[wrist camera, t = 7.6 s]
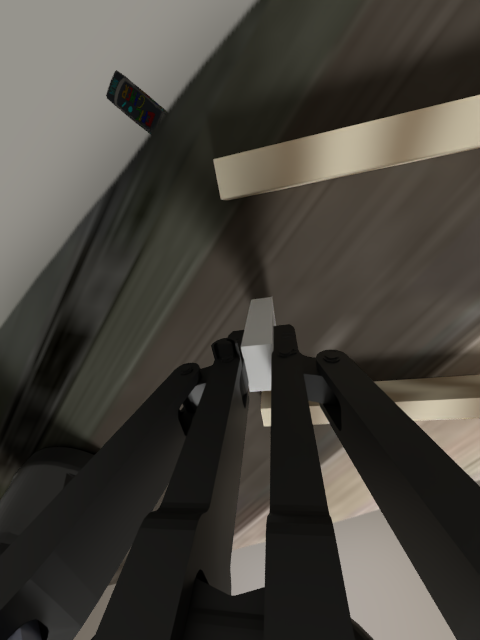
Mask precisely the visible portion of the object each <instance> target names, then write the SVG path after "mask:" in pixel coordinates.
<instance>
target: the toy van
mask: <svg viewBox="0 0 480 640" xmlns="http://www.w3.org/2000/svg"><path fill="white" fill-rule="evenodd" d="M106 96H107V99H108V100H109V101H111V102H112V103H113V104H114V105H115V106H116V107H117V108H119V109H120V110H121V111H122V112H123V113H124V114H126V115H127V116H128V117H129V118H130V119H132V120H133V121H134V122H135V123H136V124H138V125H139V126H140V127H142V128H143V129H144V130H145V131H147V132H148V133H149V134H150V133H151V131H152V130H153V129H154V128H155V126H156V125H157V124H158V122H159V121H160V119H161V118H162V117H163V115H164V114H165V113H166V110H165V109H164V108H163V107H161V106H160V105H159V104H158V103H157V102H156V101H154V100H153V99H152V98H151V97H150V96H149V95H147V94H146V93H145V92H144V91H143V90H141V89H140V88H139V87H138V86H136V85H135V84H134V83H133V82H131V81H130V80H129V79H128V78H127V77H126V76H124V75H123V74H122V73H120V72H119V71H117V70H116V71H115V72H114V75H113V77H112V79H111V82H110V85H109V87H108V91H107V94H106Z"/></svg>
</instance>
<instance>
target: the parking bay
mask: <svg viewBox="0 0 480 640" xmlns="http://www.w3.org/2000/svg"><path fill="white" fill-rule="evenodd" d="M477 148H480V95H477V96H472V97H468V98H464V99H460V100H456V101H452V102H448V103H444V104H439V105H435V106H431V107H427V108H423V109H419V110H415V111H411V112H406V113H402V114H398V115H394V116H390V117H386V118H382V119H378V120H374V121H369V122H365V123H361V124H357V125H353V126H349V127H345V128H341V129H336V130H332V131H328V132H324V133H320V134H316V135H312V136H308V137H303V138H299V139H295V140H291V141H287V142H283V143H279V144H275V145H271V146H266V147H262V148H258V149H254V150H250V151H246V152H242V153H238V154H233V155H229V156H225V157H221V158H217V159H213V161H214V166H215V172H216V177H217V182H218V187H219V193H220V198H221V200H227V201H228V200H233V199H238V198H242V197H247V196H252V195H257V194H262V193H266V192H271V191H276V190H281V189H286V188H290V187H295V186H300V185H305V184H309V183H314V182H319V181H324V180H329V179H333V178H338V177H343V176H348V175H353V174H357V173H362V172H367V171H372V170H376V169H381V168H386V167H391V166H396V165H400V164H405V163H410V162H415V161H420V160H424V159H429V158H434V157H439V156H444V155H448V154H453V153H458V152H463V151H467V150H472V149H477ZM375 383H376V384H377V385H378V386H379V387H380V388H381V389H382V390H383V391H384V392H385V393H386V394H387V395H388V396H389V397H390V398H391V399H392V400H393V401H394V402H395V403H396V404H397V405H398V406H399V407H400V408H401V409H402V410H403V411H404V412H405V413H406V414H407V415H408V416H409V417H410V418H411V419H412V420H413V421H419V420H446V419H473V418H480V375H467V376H452V377H436V378H421V379H405V380H390V381H375ZM308 402H309V407H310V412H311V418H312V423H313V424H330V423H329V421H328V420H327V418H326V416H325V415H324V413H323V411H322V409H321V408H320V405H319V403H317V402H312V401H308ZM261 413H262V418H263V424H264V426H271V391H262V393H261Z"/></svg>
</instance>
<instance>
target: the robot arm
mask: <svg viewBox="0 0 480 640" xmlns="http://www.w3.org/2000/svg"><path fill="white" fill-rule="evenodd" d="M211 347H212V351H213V355H214V358H215V361H214V363H213V365H212V366H209V367H206V368H202V369H200V367H199V365H198V364H196V363H186V364H183V365H181V366H179V367H178V368H177V369H175V370H174V371H173V372H172V373H171V375H170V376H169V377H168V378H167V379H166V380H165V381H164V382H163V383H162V384H161V385H160V386H159V387H158V388H157V389H156V390H155V392H154V393H153V394H152V395H151V396H150V397H149V398H148V399H147V400H146V401H145V402H144V403H143V404H142V405H141V406H140V408H139V409H138V410H137V411H136V412H135V413H134V414H133V415H132V416H131V417H130V418H129V419H128V420H127V421H126V422H125V423H124V425H123V426H122V427H121V428H120V429H119V430H118V431H117V432H116V433H115V434H114V435H113V436H112V437H111V438H110V439H109V440H108V442H107V443H106V444H105V445H104V446H103V447H102V448H101V449H100V450H99V451H98V452H97V453H96V454H95V455H93V454H90V453H87V452H84V451H81V450H77V449H73V448H67V447H49V448H44V449H41V450H39V451H37V452H35V453H34V454H33V455H32V456H31V457H30V458H29V459H28V460H27V461H26V462H25V463H24V464H23V465H22V466H21V467H20V468H19V470H18V471H17V472H16V473H15V475H14V477H13V479H12V481H11V484H10V486H9V488H8V489H7V491H6V492H5V494H4V495H3V497H2V499H1V500H0V640H73V639H74V637H75V636H76V635H77V633H78V632H79V630H80V629H81V628H82V626H83V625H84V623H85V621H86V620H87V618H88V617H89V615H90V613H91V612H92V610H93V609H94V607H95V606H96V604H97V603H98V601H99V599H100V598H101V596H102V594H103V592H104V591H105V589H106V588H107V586H108V584H109V583H110V581H111V579H112V578H113V576H114V574H115V572H116V571H117V569H118V567H119V566H120V564H121V562H122V561H123V559H124V557H125V556H126V554H127V552H128V551H129V549H130V547H131V546H132V547H131V549H130V552H129V554H128V557H127V559H126V562H125V564H124V566H123V569H122V571H121V574H120V576H119V579H118V581H117V583H116V586H115V588H114V591H113V593H112V596H111V598H110V600H109V603H108V605H107V608H106V610H105V613H104V615H103V618H102V620H101V622H100V625H99V627H98V630H97V632H96V635H95V636H94V637H93V638H92V639H91V640H373V638H372V637H371V636H370V635H369V634H368V633H367V632H366V631H365V630H364V629H363V628H362V627H361V626H360V625H359V624H358V623H356V622H355V621H354V620H353V619H351V617H350V612H349V607H348V601H347V597H346V591H345V586H344V581H343V575H342V570H341V565H340V559H339V554H338V549H337V543H336V538H335V533H334V528H333V523H332V519H331V517H330V515H329V511H328V506H327V500H326V495H325V489H324V484H323V478H322V473H321V467H320V462H319V456H318V451H317V445H316V440H315V434H314V429H313V423H312V418H311V412H310V407H309V402H308V401H312V402H317V403H319V405H320V408H321V409H322V411H323V413H324V415H325V416H326V418H327V420H328V421H329V423H330V425H331V426H332V428H333V430H334V432H335V433H336V435H337V437H338V438H339V440H340V442H341V444H342V445H343V447H344V449H345V450H346V452H347V454H348V455H349V457H350V459H351V461H352V462H353V464H354V466H355V467H356V469H357V471H358V472H359V474H360V476H361V478H362V479H363V481H364V483H365V484H366V486H367V488H368V489H369V491H370V493H371V495H372V496H373V498H374V500H375V501H376V503H377V505H378V506H379V508H380V510H381V512H382V513H383V515H384V516H385V518H386V520H387V522H388V523H389V525H390V527H391V529H392V530H393V532H394V534H395V535H396V537H397V539H398V540H399V542H400V544H401V545H402V547H403V549H404V551H405V552H406V554H407V556H408V557H409V559H410V561H411V562H412V564H413V566H414V568H415V569H416V571H417V573H418V574H419V576H420V578H421V579H422V581H423V583H424V584H425V586H426V588H427V590H428V592H429V593H430V595H431V597H432V598H433V600H434V602H435V603H436V605H437V606H438V609H439V610H440V612H441V613H442V615H443V617H444V619H445V620H446V622H447V624H448V625H449V627H450V629H451V630H452V632H453V634H454V636H455V637H456V639H457V640H480V487H479V485H478V484H477V483H476V482H475V481H474V480H473V479H472V478H471V477H470V476H469V475H468V474H467V473H466V472H465V471H464V470H462V469H461V468H460V467H459V466H458V465H457V464H456V463H455V462H454V461H453V460H452V459H451V458H450V457H449V456H448V455H447V454H446V453H445V452H444V451H443V450H442V449H441V448H440V447H439V446H438V445H437V444H436V443H435V442H434V441H433V440H432V439H431V438H430V437H429V436H428V435H427V434H426V433H425V432H424V431H423V430H422V429H421V428H420V427H419V426H418V425H417V424H416V423H415V422H414V421H413V420H412V419H411V418H410V417H409V416H408V415H407V414H406V413H405V412H404V411H403V410H402V409H401V408H400V407H399V406H398V405H397V404H396V403H395V402H394V401H393V400H392V399H391V398H390V397H389V396H388V395H387V394H386V393H385V392H384V391H383V390H382V389H381V388H380V387H379V386H378V385H377V384H376V383H375V382H374V381H373V380H372V379H371V378H370V377H369V376H368V375H366V374H365V373H364V372H363V371H362V370H361V369H360V368H359V367H358V366H357V365H356V364H355V363H354V362H353V361H352V360H351V359H350V358H349V357H348V356H347V355H346V354H345V353H343V352H341V351H338V350H325V351H322V352H320V353H318V354H317V356H316V358H312V357H307V356H304V355H302V354H301V353H300V352H299V350H298V346H297V340H296V335H295V329H294V327H293V326H291V325H290V324H288V325H279V326H276V322H275V314H274V307H273V300H272V297H268V298H260V299H253V300H251V303H250V308H249V312H248V316H247V321H246V325H245V330H239V331H233V332H232V333H231V334H230V335H229V336H228V338H223V339H220V340H217V341H216V342H214V343H213V344H212V345H211ZM248 385H249V389H250V392H255V391H271V460H270V513H269V515H268V516H267V524H266V560H265V562H266V563H265V587H264V588H260V589H257V590H253V591H250V592H246V593H243V594H239V595H236V596H231V574H230V562H231V552H232V544H233V535H234V526H235V518H236V509H237V500H238V492H239V483H240V475H241V466H242V457H243V449H244V440H245V431H246V423H247V414H248V405H249V395H248ZM182 403H183V406H184V407H183V408H182V409H181V410H179V408H180V406H181V405H182ZM168 483H169V485H168ZM167 485H168V488H167V490H166V493H165V496H164V498H163V501H162V503H161V505H160V507H159V509H158V510H157V511H153V512H152V510H153V509H154V507H155V505H156V504H157V502H158V500H159V498H160V497H161V495H162V493H163V492H164V490H165V488H166V487H167ZM132 544H133V545H132Z"/></svg>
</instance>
